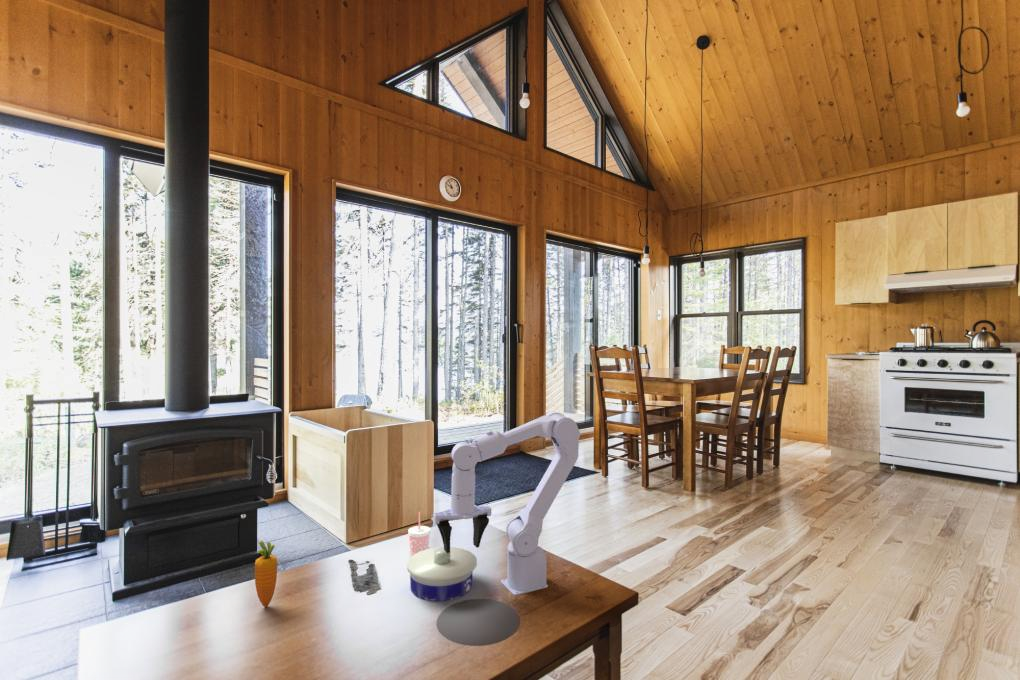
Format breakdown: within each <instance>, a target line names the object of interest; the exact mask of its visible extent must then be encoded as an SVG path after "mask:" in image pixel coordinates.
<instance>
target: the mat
mask: <svg viewBox="0 0 1020 680" xmlns="http://www.w3.org/2000/svg"><path fill="white" fill-rule="evenodd" d="M520 620H521V619H520V616H519V614H518V612H517V611H516V609H514V608H513V607H512V606H510V604H509V605H508V604H507V603H505V602H502V601H498V600H496V599H495V600H494V599H486V598H475V599H471V598H470V599H466V600H461V601H459V602H455V603H453V604H451V605H449V606H447V607H446V608H444V609H443V610H442V611H441V612H440V614H439V615H438V616H437V619H436V628H437V629H436V630H438V632H439V634H441V636H443V638H446V639H447V640H448V641H450V642H452V643H455V644H459V645H463V646H471V647H472V646H473V647H480V646H488V645H489V646H490V645H494V644H498V643H500V642H503V641H505V640H507V639H509V638H511V637H512V636H513V635H514V634H515V633H516V632H517V631H518V629H519V627H520V623H521V621H520Z"/></svg>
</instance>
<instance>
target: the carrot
mask: <svg viewBox="0 0 1020 680" xmlns="http://www.w3.org/2000/svg"><path fill="white" fill-rule="evenodd" d="M258 544H259V545H260V547H261V549H258V550H257V553H259V554H260V555H261V556H259V558H256V559H255V563H254V580H255V581H254V583H255V590H256V593H257V598H258V599H259V602H260V604H262V606H263V607H264V608H267V607H268V606H269V605H270V604H271V601H272V599H273V596H274V594H275V589H276V586H277V579H278V558H277V556H276V555H272V552H273V550H274V549H275V547H276V545H275V544H272V543H271V542H270V541H268V542H266V544H265V542H264V540H260V541H259V542H258ZM266 545H267V546H266Z"/></svg>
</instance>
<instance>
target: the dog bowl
mask: <svg viewBox="0 0 1020 680" xmlns="http://www.w3.org/2000/svg"><path fill="white" fill-rule="evenodd" d="M473 572H474V570H473V571H472V572H471V573H469V574H468V575H466V576H463V577H461V578H457V579H453V580H446V581H429V580H424V579H420V578H417V577H415V576H413V575H411V574H410V573H409V576H410V577H409V578H410V581H409V582H410V591H411V594H412V595H414V596H415V597H416V598H417V599H420V600H423V601H427V602H440V603H441V602H450V601H454V600H457V599H459V598H461V597H463V596H465V595H467V594H468V593H469V592H470V591H471V589H472V588H473V587H472V586H473V574H474V573H473Z"/></svg>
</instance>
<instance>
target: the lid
mask: <svg viewBox="0 0 1020 680" xmlns="http://www.w3.org/2000/svg"><path fill="white" fill-rule="evenodd" d="M477 559H478V558H477V556H476V555H475V554H474V553H472V552H471V551H469V550H467V549H464V548H461V547H453V546H450V553H446V551H445V550H444V546H440V547H431V548H429V549H426V550H423V551H420V552H418V553H416V554H414V555H413V556H411V557H410V556H409V558H408V560H407V562H406V569H407V572H408V573H409V575H410V574H411V575H413V576H415V577H417V578H420V579H424V580H429V581H446V580H453V579H457V578H461V577H463V576H466V575H468V574H469V573H471V572H472V571H473V572H474V571H475V569H476V568H477V566H478V565H477V564H478V560H477Z"/></svg>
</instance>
